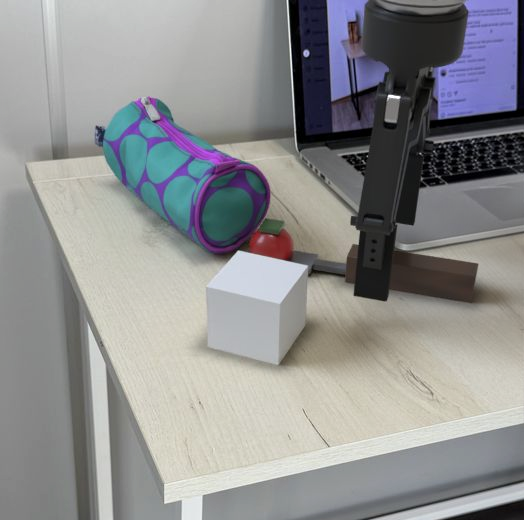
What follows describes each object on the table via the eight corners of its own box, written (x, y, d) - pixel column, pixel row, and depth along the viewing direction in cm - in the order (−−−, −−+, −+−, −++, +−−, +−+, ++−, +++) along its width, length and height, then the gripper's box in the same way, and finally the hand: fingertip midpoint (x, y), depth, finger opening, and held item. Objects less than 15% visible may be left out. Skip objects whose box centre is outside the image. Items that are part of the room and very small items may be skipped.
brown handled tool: (474, 288, 78) (482, 244, 75) (469, 311, 75) (477, 267, 72) (254, 252, 82) (254, 210, 80) (241, 273, 79) (241, 230, 77)
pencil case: (98, 185, 93) (89, 97, 88) (172, 167, 97) (167, 81, 92) (195, 271, 79) (191, 172, 74) (276, 246, 83) (279, 150, 78)
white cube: (305, 329, 72) (308, 265, 69) (278, 369, 68) (280, 304, 64) (238, 312, 74) (238, 250, 70) (207, 351, 70) (205, 286, 66)
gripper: (395, -41, 74) (371, 190, 87) (326, 43, 55) (307, 325, 67) (486, -33, 73) (448, 201, 85) (447, 57, 53) (405, 344, 66)
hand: (386, 256), depth 76 cm, fingers open, 13 cm apart
